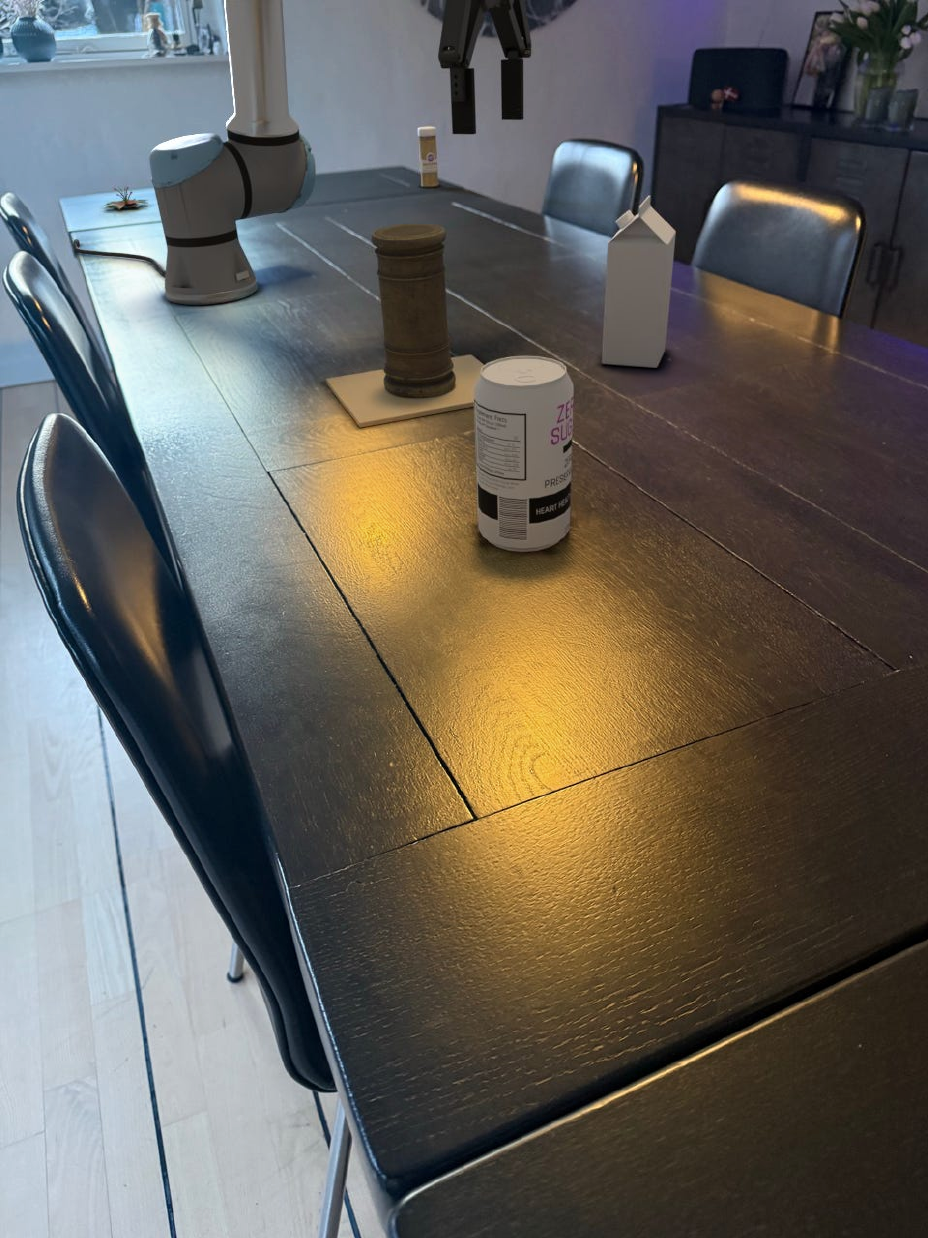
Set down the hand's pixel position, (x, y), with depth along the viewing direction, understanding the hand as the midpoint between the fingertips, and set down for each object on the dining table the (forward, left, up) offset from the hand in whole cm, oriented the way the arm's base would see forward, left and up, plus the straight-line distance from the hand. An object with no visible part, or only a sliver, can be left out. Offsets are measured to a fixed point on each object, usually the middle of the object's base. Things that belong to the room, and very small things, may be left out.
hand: (489, 126), depth 109 cm
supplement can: (+50, -18, -27) cm, 60 cm away
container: (+12, -15, -26) cm, 33 cm away
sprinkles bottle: (-124, +34, -27) cm, 131 cm away
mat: (+12, -15, -27) cm, 33 cm away
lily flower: (-142, -40, -27) cm, 150 cm away
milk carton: (+14, +14, -27) cm, 33 cm away
